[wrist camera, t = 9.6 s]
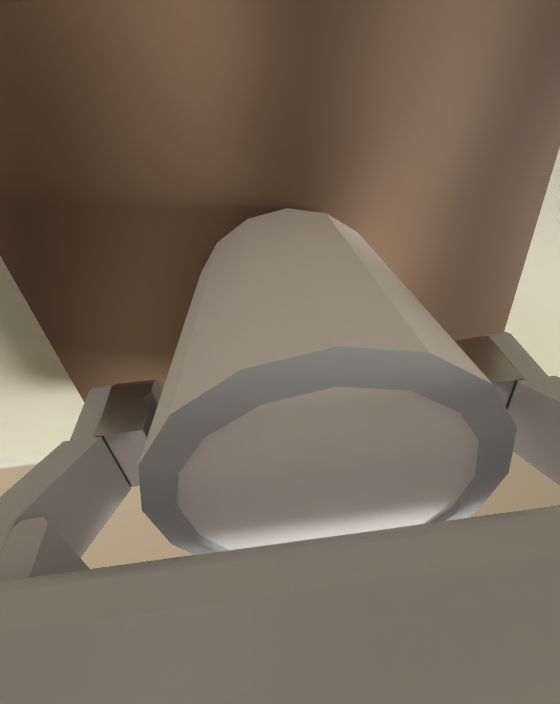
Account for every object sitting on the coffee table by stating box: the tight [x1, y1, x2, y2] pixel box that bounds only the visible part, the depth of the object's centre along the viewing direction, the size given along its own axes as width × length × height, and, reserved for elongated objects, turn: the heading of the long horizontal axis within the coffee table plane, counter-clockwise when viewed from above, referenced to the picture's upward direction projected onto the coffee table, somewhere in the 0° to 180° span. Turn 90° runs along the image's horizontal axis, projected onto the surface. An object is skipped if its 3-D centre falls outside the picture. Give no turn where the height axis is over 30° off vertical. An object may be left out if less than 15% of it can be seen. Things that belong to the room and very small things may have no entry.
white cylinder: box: [138, 208, 517, 555], centre depth 10 cm, size 7×7×7 cm
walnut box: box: [0, 0, 560, 402], centre depth 15 cm, size 16×16×6 cm
